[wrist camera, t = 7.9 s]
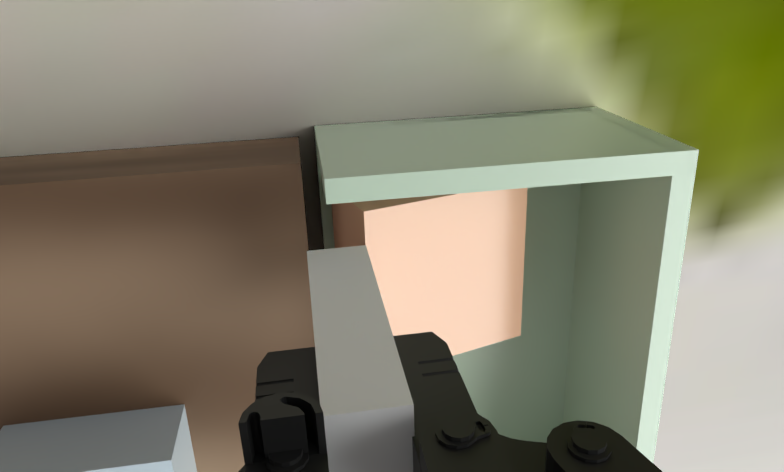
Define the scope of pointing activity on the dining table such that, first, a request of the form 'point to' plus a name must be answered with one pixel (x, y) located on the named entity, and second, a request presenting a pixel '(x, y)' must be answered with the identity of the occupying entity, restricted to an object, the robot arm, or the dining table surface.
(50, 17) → the dining table surface
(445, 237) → the tile terracotta
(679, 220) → the tray
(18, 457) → the pale blue square block
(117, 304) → the board
